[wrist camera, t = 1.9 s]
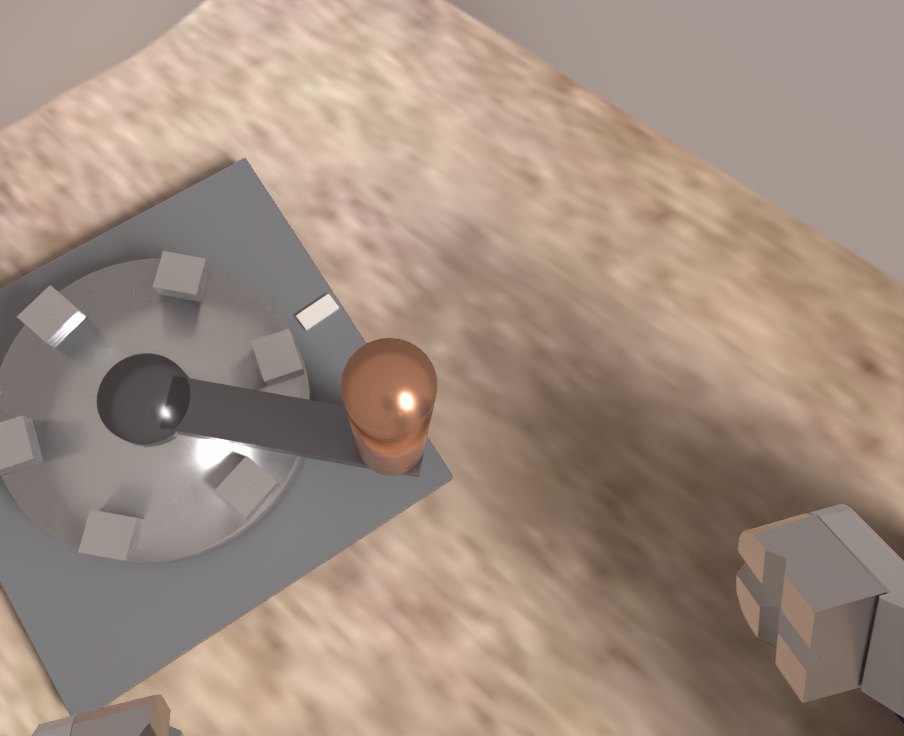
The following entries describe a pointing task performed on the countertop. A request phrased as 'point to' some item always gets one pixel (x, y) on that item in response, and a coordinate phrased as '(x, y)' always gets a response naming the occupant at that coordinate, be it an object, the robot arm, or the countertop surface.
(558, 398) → the countertop surface
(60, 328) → the crank turntable
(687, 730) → the countertop surface
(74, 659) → the base plate
